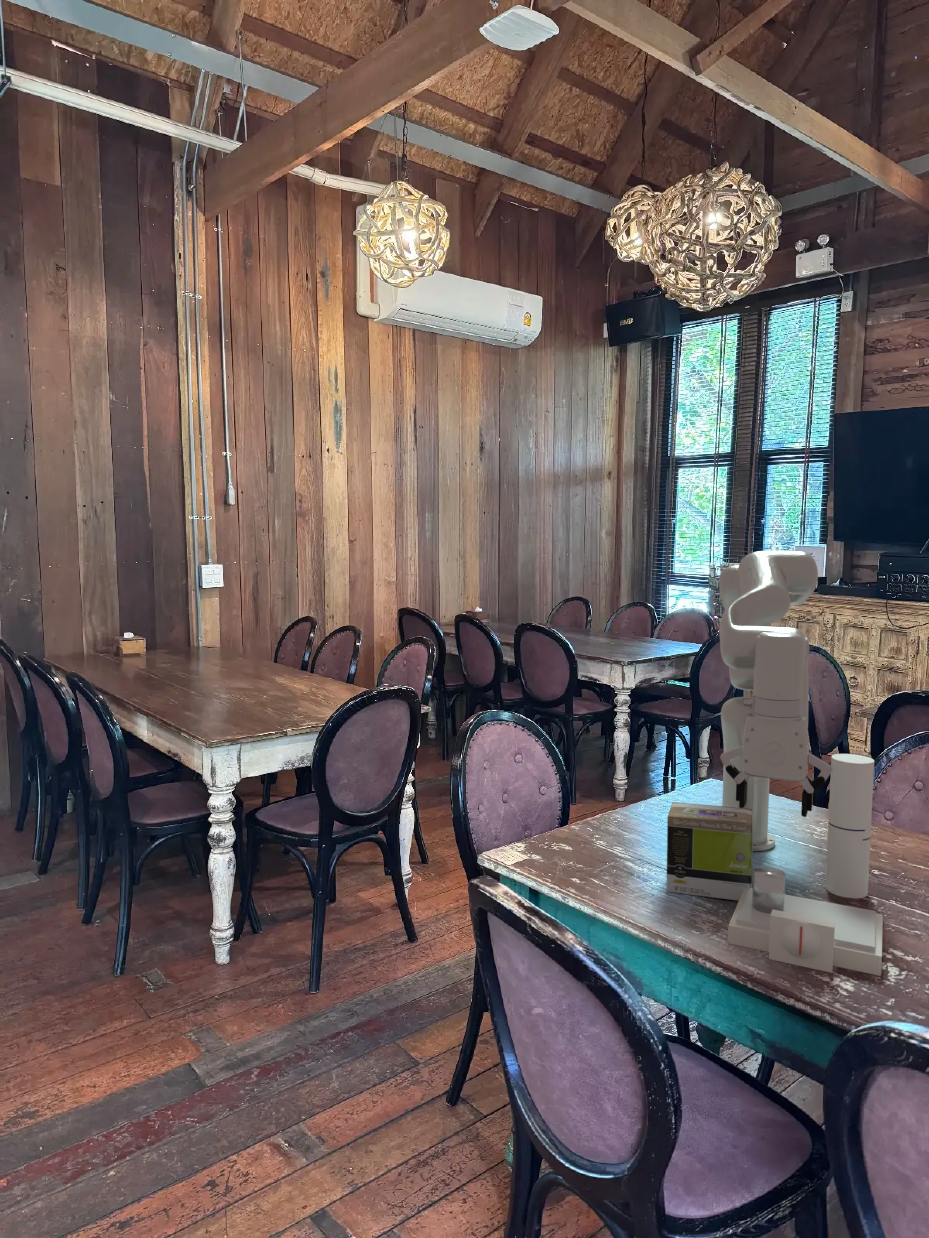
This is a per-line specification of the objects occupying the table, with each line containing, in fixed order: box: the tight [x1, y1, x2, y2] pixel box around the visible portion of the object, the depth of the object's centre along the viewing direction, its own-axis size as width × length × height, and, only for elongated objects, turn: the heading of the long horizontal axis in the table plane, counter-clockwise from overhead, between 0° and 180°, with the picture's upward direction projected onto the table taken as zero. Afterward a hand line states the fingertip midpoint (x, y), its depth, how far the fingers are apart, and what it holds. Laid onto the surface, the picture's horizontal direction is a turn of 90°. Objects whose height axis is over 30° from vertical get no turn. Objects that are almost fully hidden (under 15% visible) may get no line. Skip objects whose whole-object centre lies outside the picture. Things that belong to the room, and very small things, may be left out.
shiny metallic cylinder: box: [752, 866, 786, 914], centre depth 137 cm, size 5×5×6 cm
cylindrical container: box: [825, 753, 875, 899], centre depth 153 cm, size 7×7×25 cm
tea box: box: [666, 801, 753, 902], centre depth 154 cm, size 15×10×15 cm
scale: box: [727, 887, 884, 977], centre depth 134 cm, size 22×19×7 cm
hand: (773, 810), depth 137 cm, fingers open, 9 cm apart
